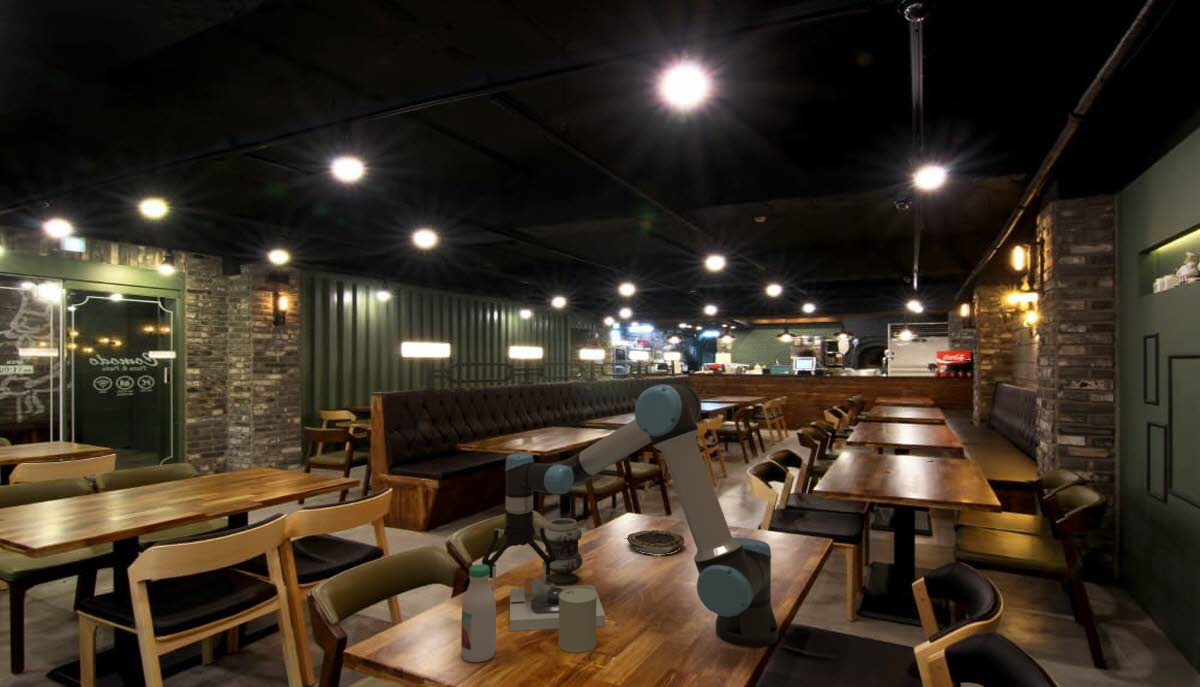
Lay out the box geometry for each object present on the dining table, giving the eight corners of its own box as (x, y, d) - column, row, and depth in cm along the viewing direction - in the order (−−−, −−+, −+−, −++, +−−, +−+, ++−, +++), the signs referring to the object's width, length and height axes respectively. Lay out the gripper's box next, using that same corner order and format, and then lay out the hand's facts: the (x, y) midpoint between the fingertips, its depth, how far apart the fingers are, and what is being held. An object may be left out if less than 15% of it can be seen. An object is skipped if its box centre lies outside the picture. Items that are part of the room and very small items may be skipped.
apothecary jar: (558, 571, 201) (558, 514, 201) (590, 577, 195) (590, 519, 195) (535, 582, 190) (535, 522, 191) (568, 589, 184) (568, 528, 185)
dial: (588, 603, 170) (588, 582, 171) (561, 619, 159) (561, 597, 159) (540, 591, 179) (540, 571, 179) (511, 606, 168) (511, 585, 168)
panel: (605, 626, 159) (605, 614, 159) (509, 631, 156) (509, 619, 156) (594, 594, 181) (594, 584, 181) (510, 598, 177) (510, 587, 177)
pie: (706, 546, 230) (706, 533, 230) (674, 568, 207) (674, 552, 207) (639, 535, 245) (639, 522, 245) (602, 553, 222) (602, 539, 222)
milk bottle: (497, 647, 147) (498, 561, 147) (493, 663, 139) (494, 572, 140) (464, 647, 146) (465, 561, 147) (458, 663, 139) (459, 572, 139)
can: (575, 632, 155) (576, 583, 156) (604, 642, 149) (604, 592, 150) (550, 645, 148) (550, 593, 149) (579, 656, 142) (579, 603, 143)
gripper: (563, 505, 178) (563, 581, 177) (474, 509, 175) (474, 585, 174) (565, 512, 171) (565, 590, 170) (472, 515, 167) (472, 595, 167)
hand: (519, 588), depth 172 cm, fingers open, 13 cm apart
